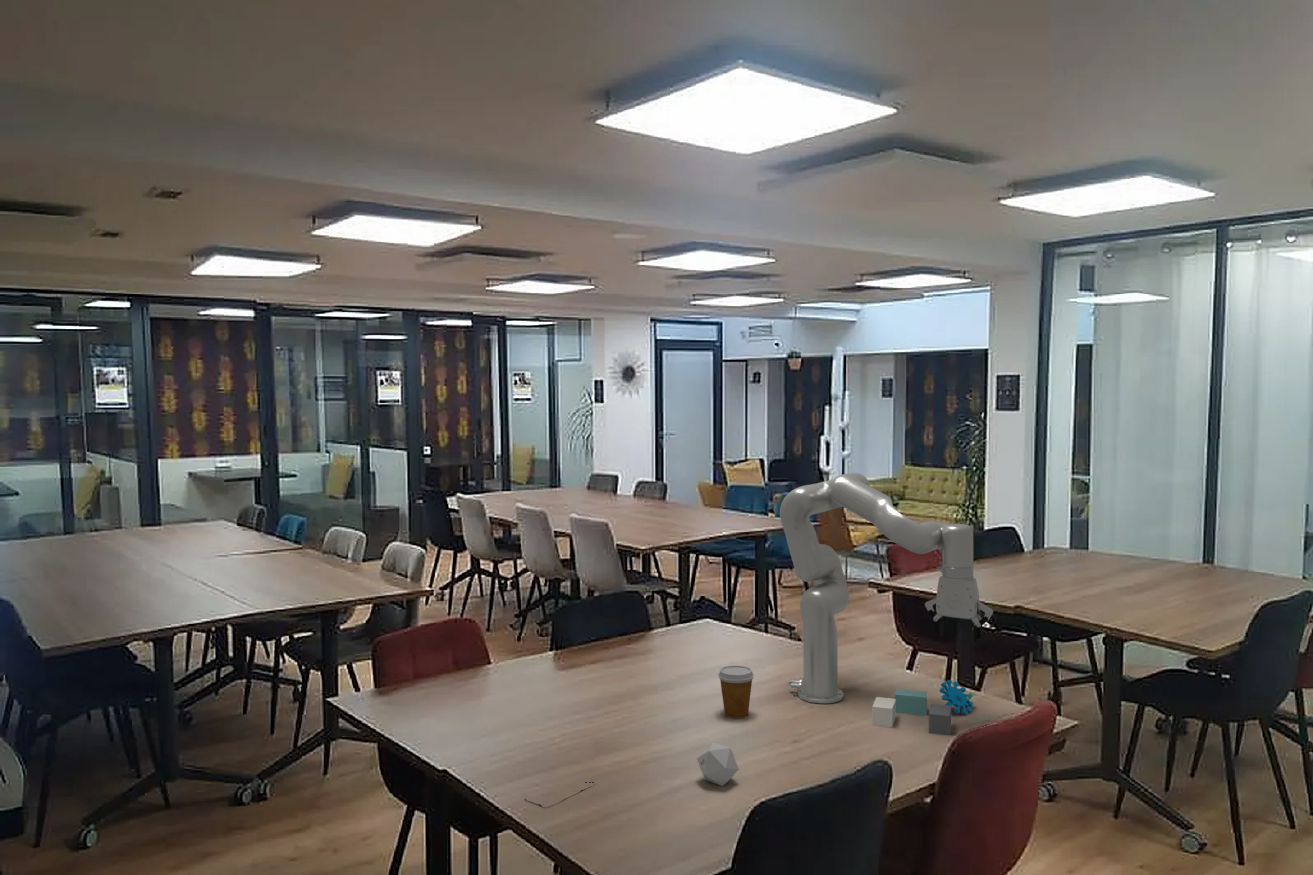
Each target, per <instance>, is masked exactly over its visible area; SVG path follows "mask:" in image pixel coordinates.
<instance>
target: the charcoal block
mask: <svg viewBox="0 0 1313 875" xmlns="http://www.w3.org/2000/svg"><path fill="white" fill-rule="evenodd" d="M951 727H952V707H951V706H950V705H945V704H939V703H930V707H929V711H928V733H929V734H937V735H945V736H950V735H951Z"/></svg>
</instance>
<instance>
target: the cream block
mask: <svg viewBox="0 0 1313 875" xmlns="http://www.w3.org/2000/svg"><path fill="white" fill-rule="evenodd" d="M871 712H872V713H871V714H872V716H871V718H872V719H871V720H872V721H871V722H872V725H871V726H876V727H886V728H893V727H894V724H895V721H896V717H897V713H896V699H895V698H888V697H882V696H876V698H875V699H874V702H873V705H872V710H871Z"/></svg>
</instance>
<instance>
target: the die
mask: <svg viewBox="0 0 1313 875" xmlns="http://www.w3.org/2000/svg"><path fill="white" fill-rule="evenodd" d="M696 760H697V763H698V765H699V768H700V770H701V774H702V776H703V778H704V780H705V781H707V782H710V783H712V784H715V785H717V786H721V787H723V786H724V785H726V783H727V782H729V780H730V779H732V778H733V776H734V775H736V773H738V771H739V770H740V769H739V766H738V764H737V762H736V759H735V756H734V753H733V751H732V747H730V746H727V745H722V744H719V743H716V742H711V743H710V744H709V746H707V748H705V749H704V751H702V753H700V754H699V755H698V757H696Z"/></svg>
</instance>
